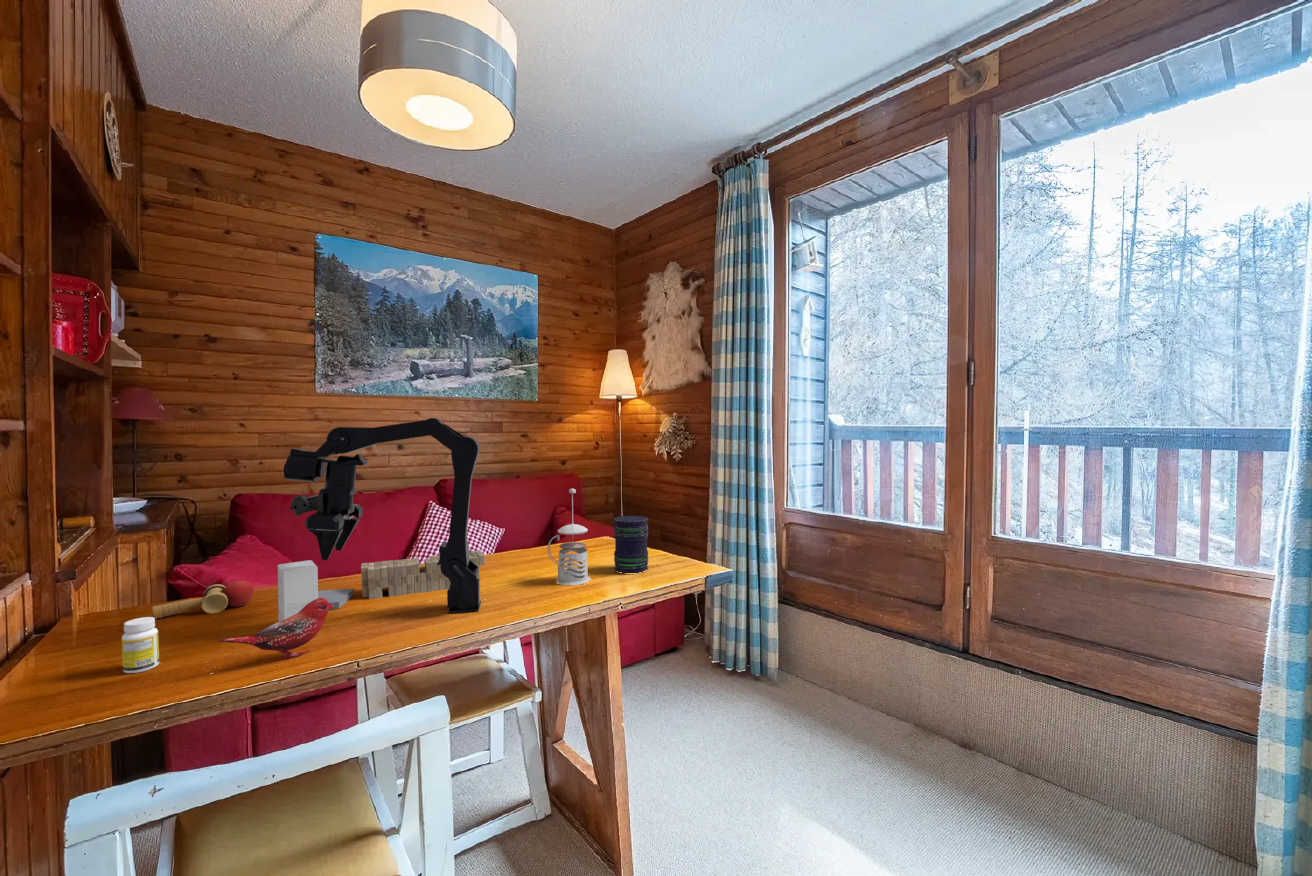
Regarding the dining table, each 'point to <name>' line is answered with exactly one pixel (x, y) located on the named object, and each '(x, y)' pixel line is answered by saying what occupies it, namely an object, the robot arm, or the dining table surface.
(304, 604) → the small box
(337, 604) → the flat grey square mat
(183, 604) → the kendama
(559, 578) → the french press
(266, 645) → the decorative bird figurine
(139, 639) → the supplement bottle
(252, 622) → the dining table surface
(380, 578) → the block tower
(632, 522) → the storage jar
